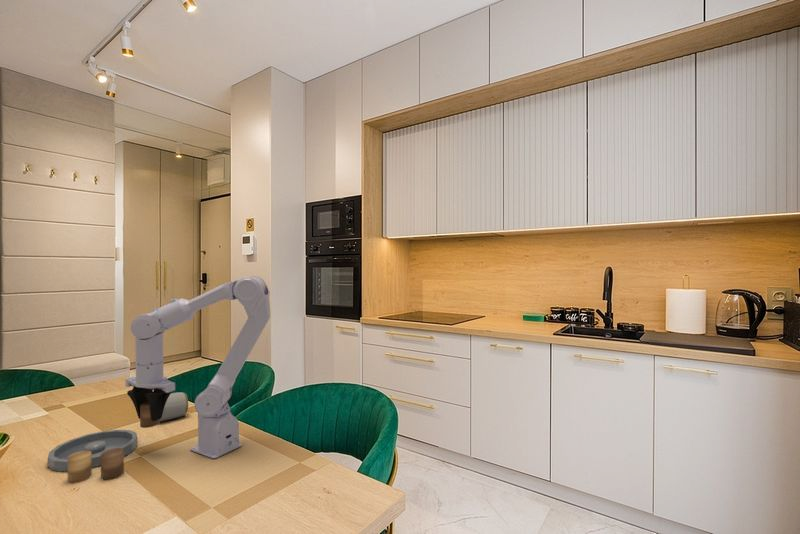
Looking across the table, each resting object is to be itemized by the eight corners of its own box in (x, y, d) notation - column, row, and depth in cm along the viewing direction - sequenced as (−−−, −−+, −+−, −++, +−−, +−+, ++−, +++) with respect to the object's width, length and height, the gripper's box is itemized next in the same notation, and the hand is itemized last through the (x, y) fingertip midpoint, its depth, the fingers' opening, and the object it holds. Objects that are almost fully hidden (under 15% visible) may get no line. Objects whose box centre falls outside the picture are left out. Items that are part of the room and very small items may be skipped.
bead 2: (127, 473, 87) (127, 450, 87) (106, 482, 83) (106, 458, 83) (118, 468, 89) (117, 446, 89) (97, 477, 85) (97, 454, 85)
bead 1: (95, 476, 86) (94, 453, 86) (72, 484, 82) (72, 461, 82) (86, 471, 88) (86, 448, 88) (64, 479, 84) (64, 456, 84)
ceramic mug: (189, 417, 119) (189, 392, 119) (158, 425, 113) (158, 398, 113) (179, 409, 126) (178, 385, 126) (149, 416, 120) (149, 391, 121)
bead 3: (163, 423, 97) (162, 402, 97) (145, 429, 93) (145, 407, 93) (154, 420, 99) (154, 400, 99) (136, 425, 95) (136, 405, 95)
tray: (151, 447, 99) (150, 438, 99) (68, 479, 84) (68, 468, 84) (116, 433, 108) (116, 425, 108) (35, 460, 93) (35, 450, 93)
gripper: (185, 361, 97) (186, 416, 97) (144, 356, 102) (144, 409, 102) (159, 368, 91) (159, 427, 91) (116, 363, 96) (117, 418, 96)
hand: (150, 418), depth 96 cm, fingers closed on bead 3, 4 cm apart
